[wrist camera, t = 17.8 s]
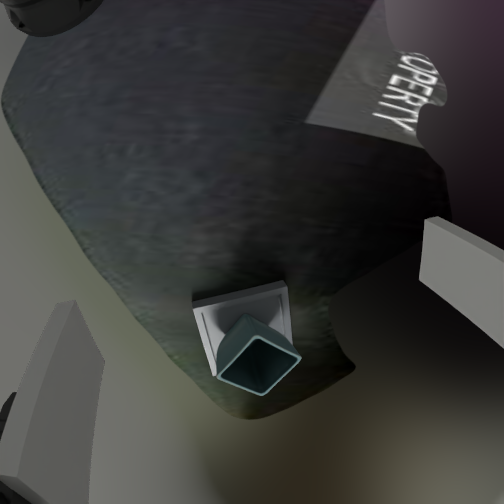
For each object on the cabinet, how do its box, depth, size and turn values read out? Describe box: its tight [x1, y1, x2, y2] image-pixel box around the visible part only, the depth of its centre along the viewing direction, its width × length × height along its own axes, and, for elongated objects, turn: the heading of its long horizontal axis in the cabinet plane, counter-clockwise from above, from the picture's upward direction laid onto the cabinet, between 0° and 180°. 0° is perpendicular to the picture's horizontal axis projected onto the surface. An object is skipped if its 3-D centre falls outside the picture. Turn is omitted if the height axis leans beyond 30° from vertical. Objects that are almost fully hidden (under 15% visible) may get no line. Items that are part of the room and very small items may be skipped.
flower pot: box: [216, 314, 302, 396], centre depth 45 cm, size 9×9×9 cm
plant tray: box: [192, 280, 292, 376], centre depth 49 cm, size 14×14×2 cm
